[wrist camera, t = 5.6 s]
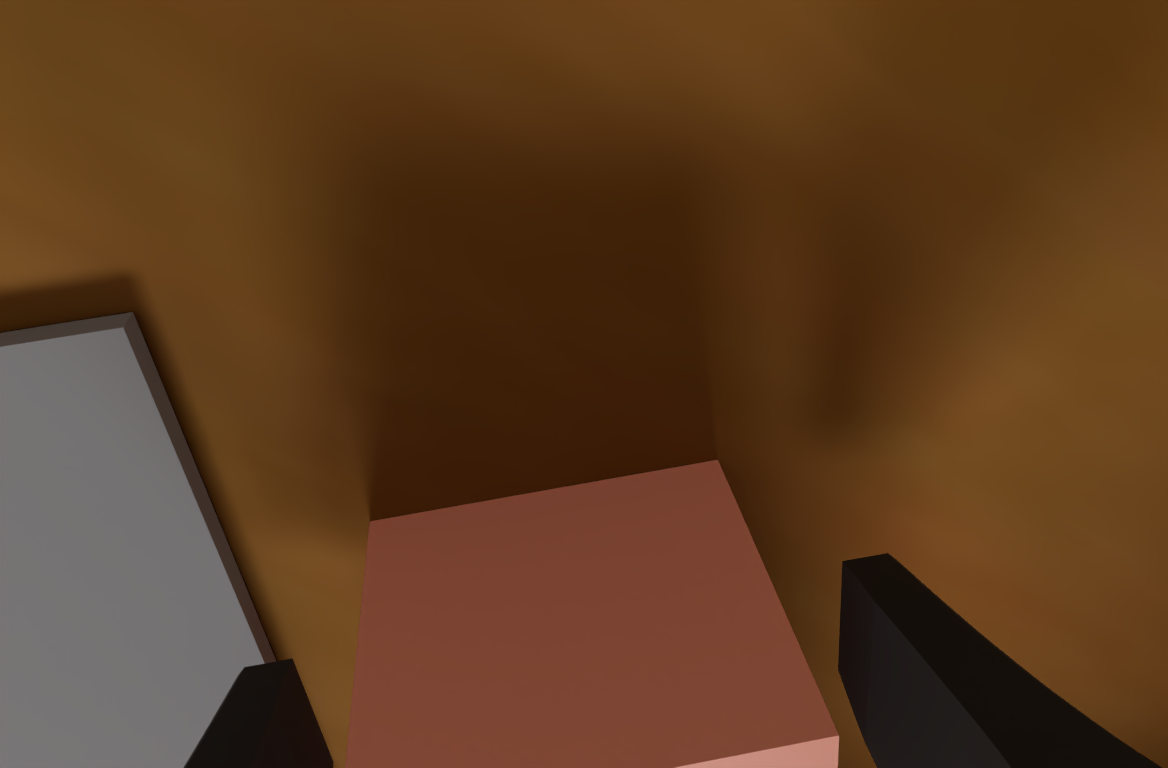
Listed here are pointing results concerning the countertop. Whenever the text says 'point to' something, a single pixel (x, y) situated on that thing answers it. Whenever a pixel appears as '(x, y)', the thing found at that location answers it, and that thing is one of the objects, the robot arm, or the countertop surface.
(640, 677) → the plain pink rectangular block
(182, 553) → the mat
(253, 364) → the countertop surface
